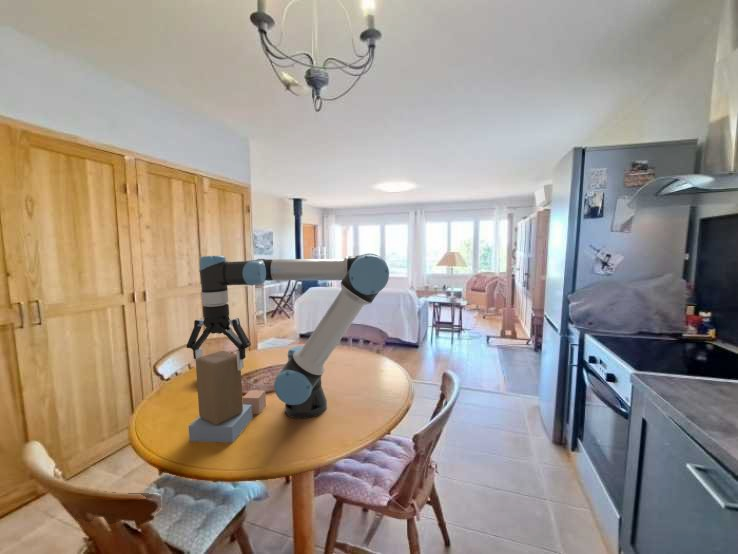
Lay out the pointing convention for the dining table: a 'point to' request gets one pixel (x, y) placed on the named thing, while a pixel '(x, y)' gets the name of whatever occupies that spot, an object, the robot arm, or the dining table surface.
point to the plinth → (220, 428)
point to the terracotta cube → (255, 400)
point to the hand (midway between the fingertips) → (220, 368)
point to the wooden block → (219, 387)
